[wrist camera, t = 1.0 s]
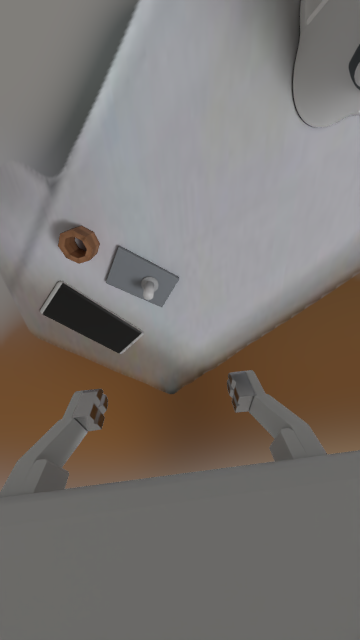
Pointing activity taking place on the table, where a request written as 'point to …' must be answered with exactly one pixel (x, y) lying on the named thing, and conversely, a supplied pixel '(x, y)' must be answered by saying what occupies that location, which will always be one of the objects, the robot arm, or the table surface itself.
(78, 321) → the smartphone
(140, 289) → the post stand
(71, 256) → the ring
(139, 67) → the table surface
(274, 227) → the table surface
